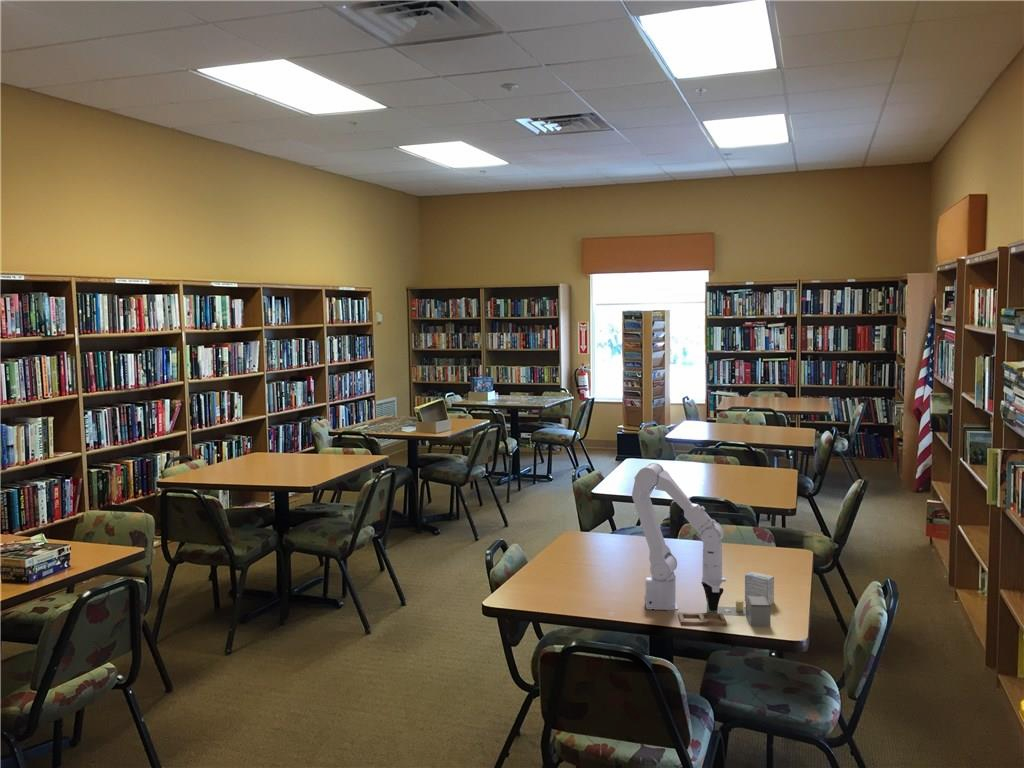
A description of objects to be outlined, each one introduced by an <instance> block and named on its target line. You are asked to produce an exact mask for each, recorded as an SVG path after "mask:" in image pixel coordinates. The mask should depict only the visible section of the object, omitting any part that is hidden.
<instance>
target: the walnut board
mask: <svg viewBox="0 0 1024 768" xmlns="http://www.w3.org/2000/svg"><path fill="white" fill-rule="evenodd" d="M677 616H678V620H679V623H680V625H681V626H704V627H705V626H710V627H711V626H713V627H715V626H716V627H727V626H728V623H727V619H726V617H725V615H723V613H719V612H718V613H708V612H682V611H681V612H677ZM685 618H693V619H692V620H690V619H685ZM694 618H695V619H696V618H699V620H697V619H696V620H694ZM706 619H719V620H706Z"/></svg>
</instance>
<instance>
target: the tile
mask: <svg viewBox="0 0 1024 768" xmlns="http://www.w3.org/2000/svg"><path fill="white" fill-rule="evenodd" d="M718 613H723V615H724V616H745V617H746V606H744V601H743V600H742V599H738V600H735V606H718Z"/></svg>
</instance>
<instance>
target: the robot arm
mask: <svg viewBox="0 0 1024 768" xmlns="http://www.w3.org/2000/svg"><path fill="white" fill-rule="evenodd" d="M654 490H656V491H660V492H665V493H667V495H668V496H669V497H670V498H671V499H672V500H673V501H674V502H675V503H676V504H677V505H678V506H679V507H680V508H681V509H682V510H683V517H684V518H685V519H686V520H687V522H688V523H689V524H690V525H691V527H693V528H694V529H695V530H696V531H697V533H698V534H700V539H701V540H700V541H701V542H702V543H703V545H702V577H701V581H700V582H701V586H702V587H703V590H704V593H705V599H706V602H707V599H708V606H709V610H710V611H717V608H718V607H719V602H720V599H721V597H722V595H723V594H724V588H723V587H721V585H722V583H723V582H724V583H726V582H727V578H726V577H723V541H722V539H723V538H724V534H725V533H724V532H725V530H724V529H723V527H722V524H720V523H719V522H717V521H716V520H715V519H712V517H710V515H709V514H708V513H707V512H706V511H705V510H706V508H705V506H703V505H701V506H700V504H698V503H693V502H692V501H691V500H690V499H689V498H688V497H687V495H686V494H685V492H684V491H683V490H682V489H681V487H680V486H679V485H678V484H677V483H676V482H675V480H674V479H673V477H672V476H671V475H670V473H669V472H668V471H667V470H665V469H664V467H663V466H662V465H660V464H659V463H657V462H652V463H649V464H648V465H646V466H645V467H643V468H641V469H639V470H638V472H637V474H636V475H635V476H634V484H633V488H632V493H631V497H632V501H633V504H634V506H635V510H636V512H637V516H638V518H639V522H640V524H641V527H642V531H643V534H644V537H645V540H646V542H647V546H648V550H649V555H648V556H649V557H648V558H649V562H650V567H649V568H650V569H649V570H650V574H651V576H648V577H644V578H645V580H644V598H643V599H644V602H645V607H646V610H652V609H654V610H657V611H659V610H660V611H661V610H662V611H666V610H667V611H668V610H669V611H670V610H671V611H678V610H679V607H678V604H677V599H676V597H677V596H676V592H677V591H676V589H677V588H676V587H677V586H676V582H677V579H676V574H675V570H676V569H677V568H678V567H677V566H678V561H677V558H676V557H675V555H674V554H672V551H671V548H670V547H669V546H668V545H667V544H666V541H665V538H664V536H663V533H662V529H661V526H660V524H659V520H658V517H657V515H656V511H655V508H654V505H653V502H652V500H651V495H652V493H653V491H654ZM654 610H653V611H654Z"/></svg>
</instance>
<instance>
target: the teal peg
mask: <svg viewBox="0 0 1024 768" xmlns="http://www.w3.org/2000/svg"><path fill="white" fill-rule="evenodd" d="M706 613H719V611H718V608H717V611H710V610H709V606H708V599H707V601H706Z"/></svg>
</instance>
